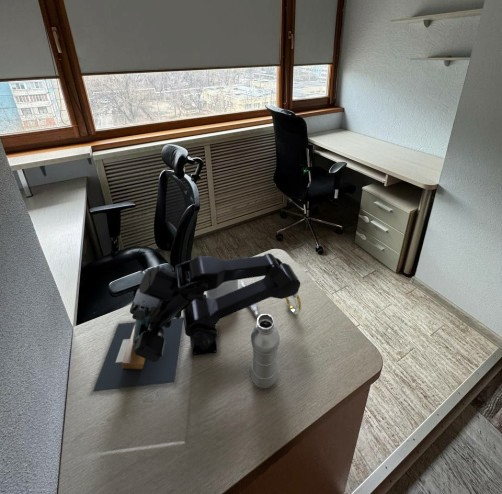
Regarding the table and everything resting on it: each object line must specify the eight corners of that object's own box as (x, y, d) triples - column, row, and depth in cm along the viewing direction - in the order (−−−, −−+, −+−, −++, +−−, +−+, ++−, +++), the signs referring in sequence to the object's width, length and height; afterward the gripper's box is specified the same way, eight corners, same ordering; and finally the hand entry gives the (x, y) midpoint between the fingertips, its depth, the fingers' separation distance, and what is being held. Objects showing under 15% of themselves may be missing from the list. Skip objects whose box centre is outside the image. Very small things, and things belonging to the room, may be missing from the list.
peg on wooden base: (151, 333, 77) (157, 297, 72) (142, 372, 67) (148, 334, 63) (133, 332, 76) (138, 296, 71) (121, 371, 66) (125, 332, 62)
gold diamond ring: (302, 317, 81) (304, 298, 78) (293, 321, 80) (294, 302, 77) (290, 299, 87) (291, 280, 84) (281, 302, 86) (282, 284, 83)
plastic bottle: (249, 364, 69) (248, 309, 62) (275, 361, 70) (277, 307, 62) (251, 393, 63) (251, 337, 56) (279, 390, 64) (283, 334, 56)
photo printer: (233, 291, 90) (232, 262, 86) (240, 300, 87) (239, 271, 82) (205, 306, 85) (202, 276, 80) (211, 316, 82) (209, 286, 77)
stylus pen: (261, 316, 81) (261, 312, 81) (253, 320, 80) (253, 315, 80) (244, 280, 94) (244, 276, 93) (237, 282, 93) (236, 278, 93)
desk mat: (183, 318, 81) (183, 317, 81) (174, 382, 66) (174, 381, 65) (118, 324, 80) (118, 323, 79) (93, 392, 64) (92, 391, 64)
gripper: (156, 257, 72) (122, 291, 75) (137, 322, 55) (93, 363, 58) (189, 276, 76) (155, 308, 79) (180, 343, 59) (137, 380, 62)
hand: (137, 335), depth 69 cm, fingers closed on peg on wooden base, 3 cm apart
